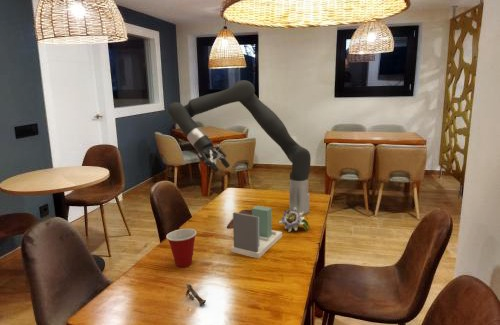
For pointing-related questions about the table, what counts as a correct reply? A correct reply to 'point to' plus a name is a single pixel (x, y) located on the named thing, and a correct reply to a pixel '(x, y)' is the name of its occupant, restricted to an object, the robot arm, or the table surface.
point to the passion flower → (294, 220)
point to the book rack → (251, 236)
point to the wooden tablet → (249, 212)
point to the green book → (264, 220)
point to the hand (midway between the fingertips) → (223, 168)
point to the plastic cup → (182, 246)
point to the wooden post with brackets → (194, 295)
